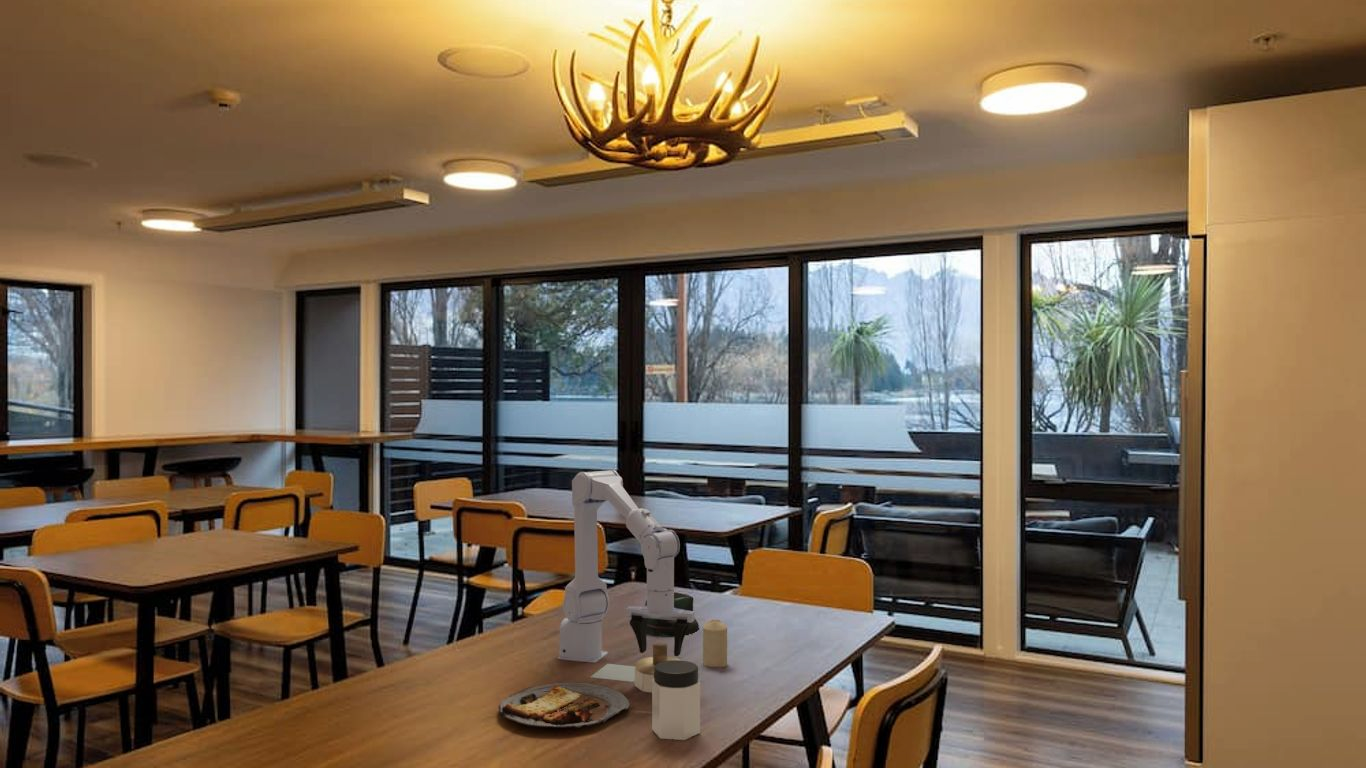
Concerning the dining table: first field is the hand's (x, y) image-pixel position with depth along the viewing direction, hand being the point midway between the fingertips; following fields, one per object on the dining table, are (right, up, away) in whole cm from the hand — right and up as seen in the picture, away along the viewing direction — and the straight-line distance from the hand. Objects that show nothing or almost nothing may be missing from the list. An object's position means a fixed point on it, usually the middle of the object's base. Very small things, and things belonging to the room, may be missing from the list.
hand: (660, 653), depth 195 cm
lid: (0, -3, 0) cm, 3 cm away
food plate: (-18, -8, -15) cm, 25 cm away
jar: (+4, -7, -25) cm, 26 cm away
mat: (-9, -7, +8) cm, 14 cm away
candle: (+12, -7, +15) cm, 21 cm away
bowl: (0, -7, 0) cm, 7 cm away
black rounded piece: (+1, -7, +46) cm, 46 cm away
